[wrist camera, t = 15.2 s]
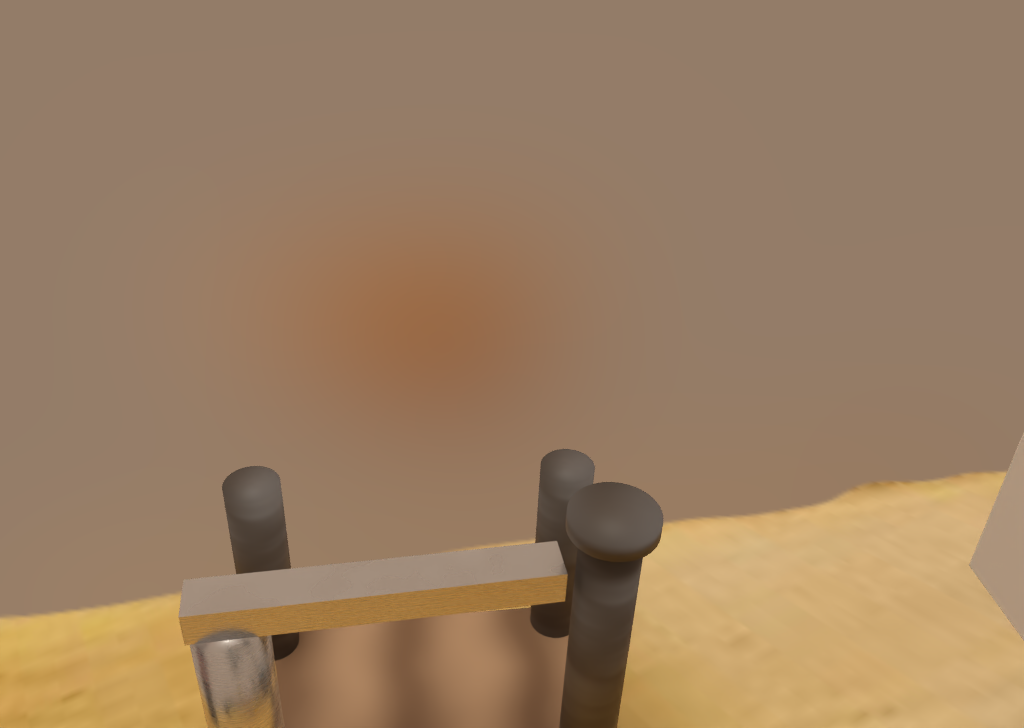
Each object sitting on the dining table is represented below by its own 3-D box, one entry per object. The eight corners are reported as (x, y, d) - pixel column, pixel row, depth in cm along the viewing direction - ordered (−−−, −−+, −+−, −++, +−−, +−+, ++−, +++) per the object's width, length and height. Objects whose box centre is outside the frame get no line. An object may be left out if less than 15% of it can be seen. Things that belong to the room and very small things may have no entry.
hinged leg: (537, 725, 50) (553, 531, 42) (551, 780, 47) (571, 584, 40) (225, 767, 47) (184, 569, 40) (221, 829, 44) (177, 629, 37)
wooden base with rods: (579, 627, 59) (607, 372, 49) (628, 821, 49) (676, 549, 39) (239, 654, 57) (193, 390, 46) (213, 866, 46) (146, 586, 36)
